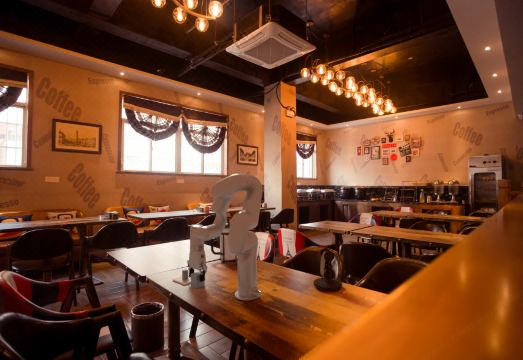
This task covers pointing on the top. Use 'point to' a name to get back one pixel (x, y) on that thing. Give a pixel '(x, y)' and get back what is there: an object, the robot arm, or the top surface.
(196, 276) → the gray rectangular block
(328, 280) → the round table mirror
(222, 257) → the coffee press
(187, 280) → the post stand
